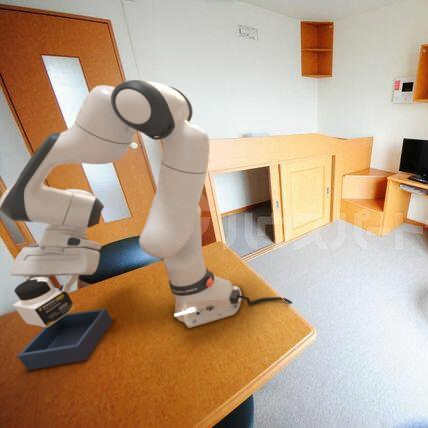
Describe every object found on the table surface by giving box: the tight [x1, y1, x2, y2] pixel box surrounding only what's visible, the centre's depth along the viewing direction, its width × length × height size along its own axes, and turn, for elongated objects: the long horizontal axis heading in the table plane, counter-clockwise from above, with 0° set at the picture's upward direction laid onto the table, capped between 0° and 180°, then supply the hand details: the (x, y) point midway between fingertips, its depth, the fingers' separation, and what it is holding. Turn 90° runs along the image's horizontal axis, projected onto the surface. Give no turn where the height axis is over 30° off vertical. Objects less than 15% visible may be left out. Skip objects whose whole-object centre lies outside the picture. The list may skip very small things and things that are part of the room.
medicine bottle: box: [12, 276, 76, 328], centre depth 64 cm, size 7×7×12 cm
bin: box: [16, 308, 113, 371], centre depth 71 cm, size 14×14×6 cm
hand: (46, 292), depth 65 cm, fingers closed on medicine bottle, 7 cm apart
